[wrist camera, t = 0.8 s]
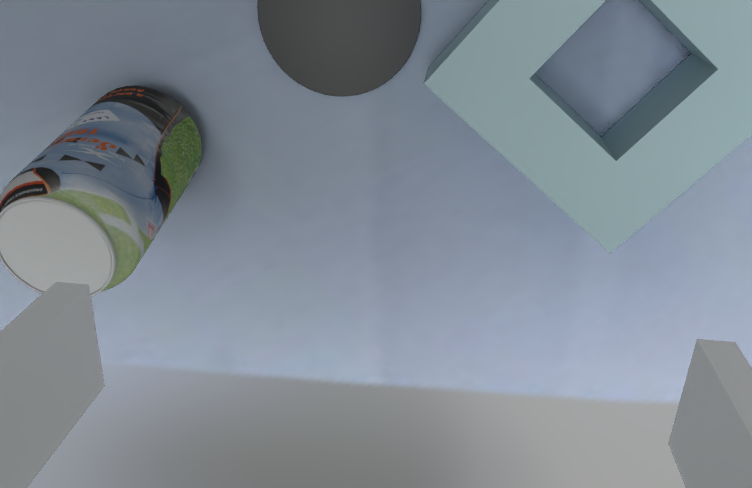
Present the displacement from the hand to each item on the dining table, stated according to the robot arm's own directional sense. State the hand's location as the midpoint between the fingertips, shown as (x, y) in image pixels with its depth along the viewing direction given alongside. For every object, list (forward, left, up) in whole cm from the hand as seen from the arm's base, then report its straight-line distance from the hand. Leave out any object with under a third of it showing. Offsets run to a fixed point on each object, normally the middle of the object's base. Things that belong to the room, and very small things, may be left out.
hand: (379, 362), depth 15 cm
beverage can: (-10, -11, -23) cm, 27 cm away
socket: (+4, +8, -23) cm, 24 cm away
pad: (-7, +1, -23) cm, 24 cm away
